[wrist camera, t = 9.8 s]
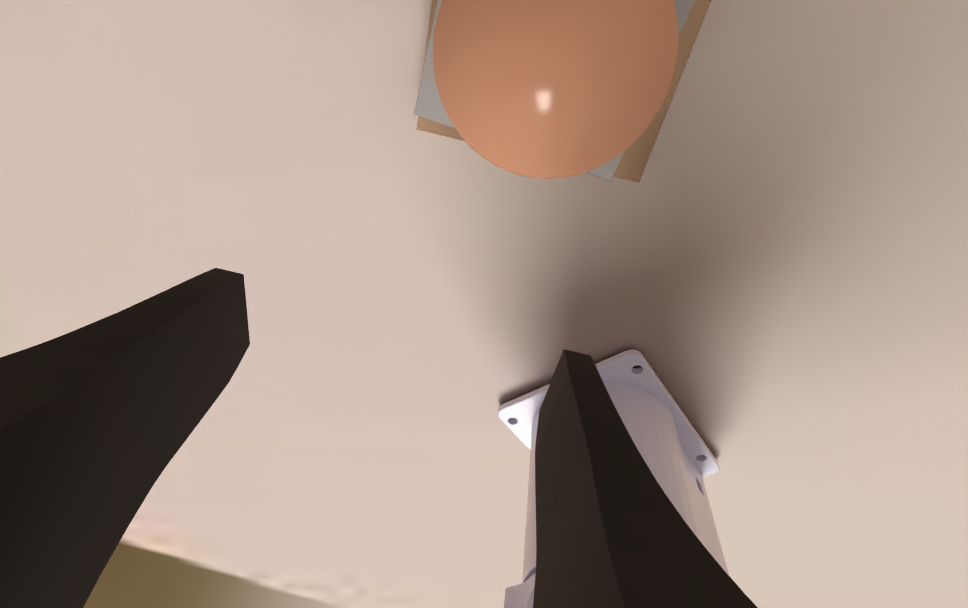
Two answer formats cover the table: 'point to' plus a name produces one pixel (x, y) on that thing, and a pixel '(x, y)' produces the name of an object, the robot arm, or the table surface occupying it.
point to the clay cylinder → (553, 78)
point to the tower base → (642, 147)
